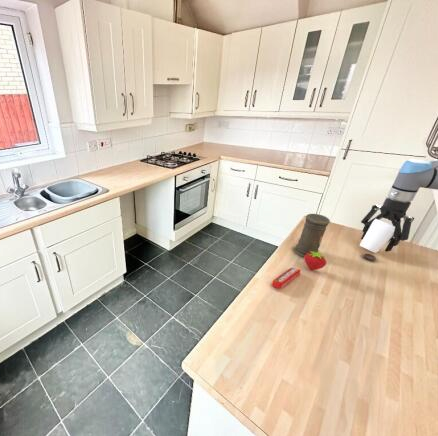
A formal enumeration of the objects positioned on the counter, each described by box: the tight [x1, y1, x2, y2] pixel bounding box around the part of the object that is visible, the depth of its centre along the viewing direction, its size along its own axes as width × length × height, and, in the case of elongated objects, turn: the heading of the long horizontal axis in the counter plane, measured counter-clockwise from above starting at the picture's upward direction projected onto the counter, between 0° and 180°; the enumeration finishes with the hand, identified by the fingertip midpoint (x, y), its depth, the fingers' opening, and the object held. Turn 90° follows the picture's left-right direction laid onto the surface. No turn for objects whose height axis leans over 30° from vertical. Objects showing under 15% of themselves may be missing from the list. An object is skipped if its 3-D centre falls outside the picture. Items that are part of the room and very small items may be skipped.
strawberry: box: [303, 251, 327, 272], centre depth 97 cm, size 6×8×10 cm
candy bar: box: [270, 267, 302, 289], centre depth 94 cm, size 16×4×3 cm, turn 124°
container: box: [294, 213, 331, 258], centre depth 105 cm, size 9×9×18 cm
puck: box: [362, 253, 377, 262], centre depth 105 cm, size 4×4×1 cm
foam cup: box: [359, 219, 395, 254], centre depth 106 cm, size 10×9×13 cm
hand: (375, 244), depth 109 cm, fingers closed on foam cup, 9 cm apart
